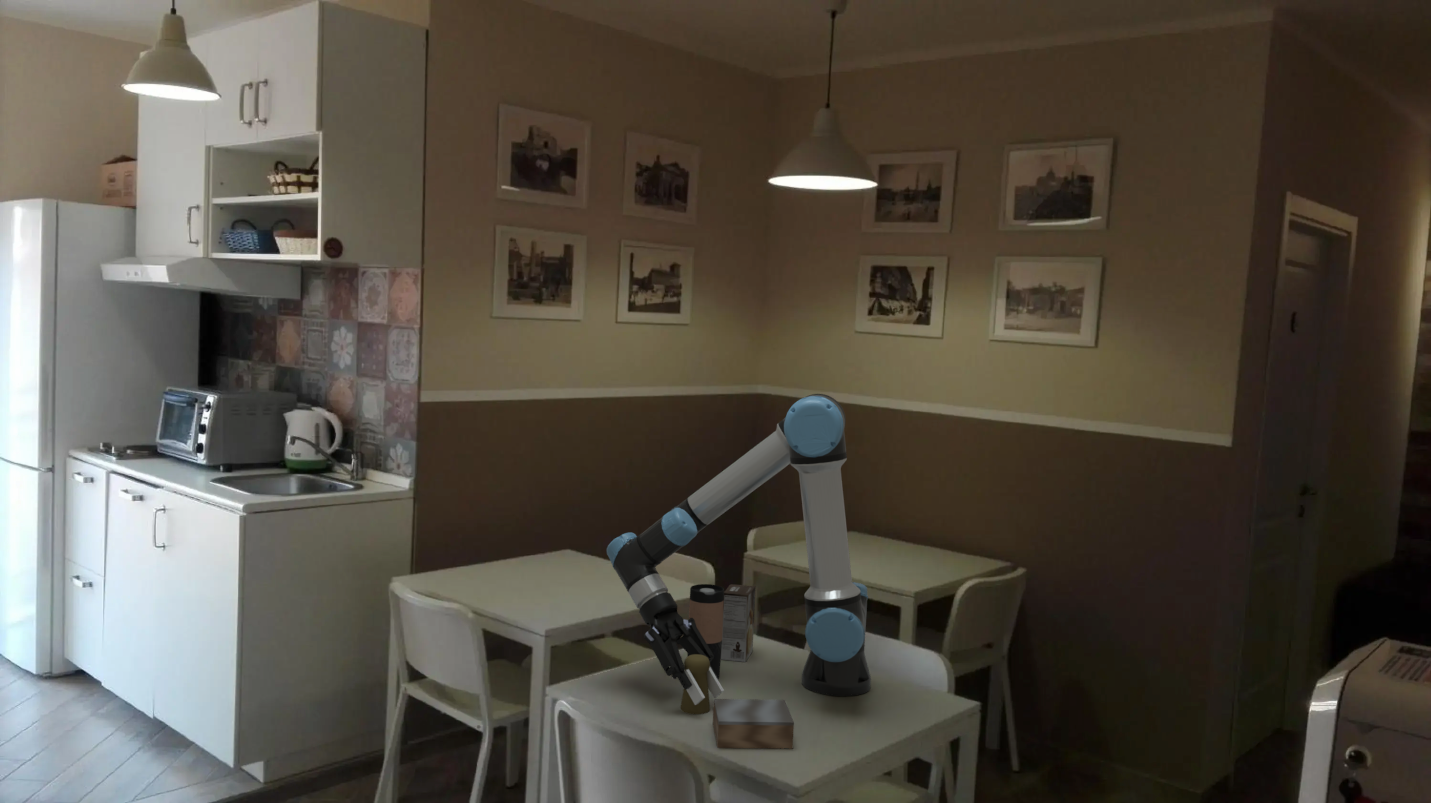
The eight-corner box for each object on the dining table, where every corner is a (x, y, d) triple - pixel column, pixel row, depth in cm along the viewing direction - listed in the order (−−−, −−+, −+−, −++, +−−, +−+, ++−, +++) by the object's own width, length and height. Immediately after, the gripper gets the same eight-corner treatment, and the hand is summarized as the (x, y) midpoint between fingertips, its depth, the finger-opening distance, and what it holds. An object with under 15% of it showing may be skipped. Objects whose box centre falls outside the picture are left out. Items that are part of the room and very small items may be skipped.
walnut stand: (783, 724, 213) (784, 699, 213) (792, 748, 201) (793, 722, 201) (712, 723, 212) (713, 698, 212) (717, 747, 200) (718, 721, 200)
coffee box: (727, 648, 262) (730, 583, 261) (753, 651, 261) (756, 585, 259) (719, 659, 253) (722, 592, 252) (746, 662, 252) (749, 594, 250)
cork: (681, 702, 223) (683, 650, 222) (710, 704, 223) (712, 652, 222) (679, 713, 217) (681, 659, 216) (709, 714, 217) (711, 661, 216)
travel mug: (699, 668, 245) (703, 582, 244) (727, 676, 241) (731, 588, 239) (679, 677, 239) (682, 587, 238) (707, 684, 235) (710, 594, 233)
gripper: (673, 603, 235) (728, 696, 226) (613, 618, 222) (668, 718, 212) (692, 584, 232) (748, 677, 222) (632, 598, 218) (689, 698, 208)
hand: (709, 697), depth 217 cm, fingers closed on cork, 5 cm apart
